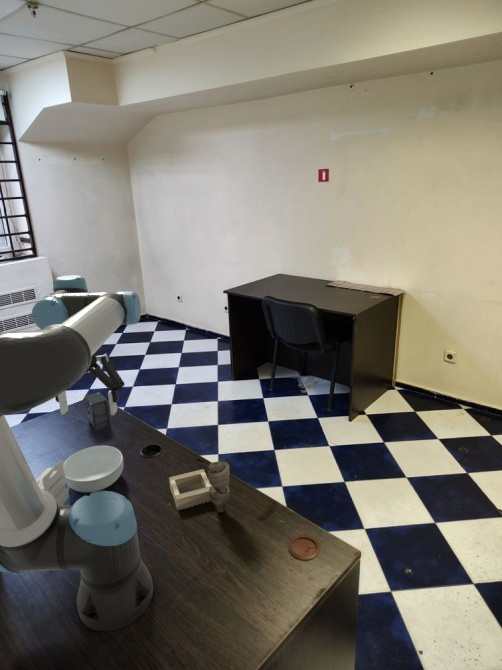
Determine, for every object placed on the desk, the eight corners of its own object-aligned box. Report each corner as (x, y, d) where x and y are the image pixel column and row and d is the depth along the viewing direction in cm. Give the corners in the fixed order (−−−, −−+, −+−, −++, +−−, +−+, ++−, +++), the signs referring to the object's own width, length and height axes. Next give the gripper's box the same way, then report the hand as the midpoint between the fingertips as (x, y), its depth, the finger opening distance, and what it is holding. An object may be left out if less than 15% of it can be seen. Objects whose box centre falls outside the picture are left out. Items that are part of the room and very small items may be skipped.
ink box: (55, 502, 122) (46, 456, 117) (71, 505, 121) (63, 458, 116) (35, 525, 114) (24, 476, 109) (52, 527, 113) (42, 479, 108)
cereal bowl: (56, 481, 131) (52, 460, 129) (110, 458, 141) (107, 439, 139) (78, 510, 119) (74, 488, 116) (135, 483, 129) (133, 462, 127)
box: (88, 421, 163) (84, 395, 160) (103, 417, 166) (100, 391, 163) (95, 430, 157) (90, 403, 154) (111, 425, 160) (107, 399, 157)
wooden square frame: (213, 500, 121) (213, 489, 120) (177, 510, 118) (176, 499, 117) (204, 479, 130) (203, 468, 129) (169, 487, 127) (168, 477, 126)
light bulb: (235, 509, 118) (233, 461, 113) (223, 522, 113) (221, 472, 108) (218, 502, 121) (215, 454, 116) (206, 514, 116) (202, 465, 111)
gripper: (131, 332, 115) (139, 406, 122) (38, 332, 117) (51, 405, 124) (121, 341, 108) (130, 419, 115) (22, 342, 110) (37, 418, 117)
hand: (89, 412), depth 119 cm, fingers open, 13 cm apart
